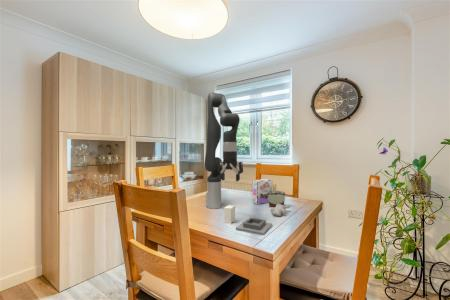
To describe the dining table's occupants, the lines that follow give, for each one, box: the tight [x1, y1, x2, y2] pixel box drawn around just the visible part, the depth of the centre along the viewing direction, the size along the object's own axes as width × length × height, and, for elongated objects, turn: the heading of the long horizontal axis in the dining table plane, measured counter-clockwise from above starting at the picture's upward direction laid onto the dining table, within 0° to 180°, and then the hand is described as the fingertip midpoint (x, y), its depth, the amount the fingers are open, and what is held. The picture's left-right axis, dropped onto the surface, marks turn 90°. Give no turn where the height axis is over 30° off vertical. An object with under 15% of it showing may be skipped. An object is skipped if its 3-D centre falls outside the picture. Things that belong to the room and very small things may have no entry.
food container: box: [267, 190, 287, 209], centre depth 145 cm, size 12×6×10 cm, turn 84°
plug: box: [223, 204, 236, 224], centre depth 117 cm, size 4×5×8 cm
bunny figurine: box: [270, 204, 290, 217], centre depth 130 cm, size 10×5×15 cm
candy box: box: [252, 178, 273, 206], centre depth 155 cm, size 14×6×16 cm, turn 117°
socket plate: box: [235, 217, 273, 236], centre depth 108 cm, size 14×14×3 cm
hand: (230, 180), depth 117 cm, fingers open, 8 cm apart
